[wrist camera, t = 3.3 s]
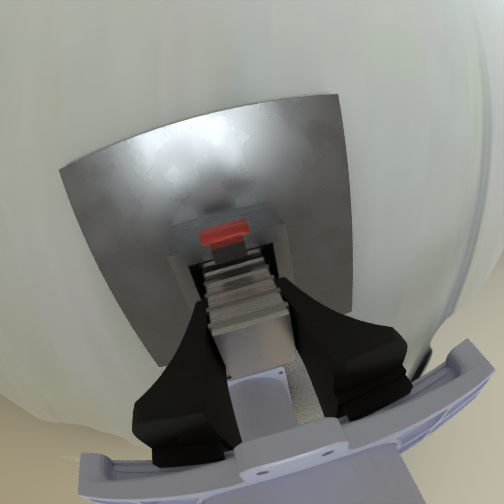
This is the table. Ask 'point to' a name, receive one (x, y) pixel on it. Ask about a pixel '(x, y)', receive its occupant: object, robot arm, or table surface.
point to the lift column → (248, 315)
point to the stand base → (218, 209)
